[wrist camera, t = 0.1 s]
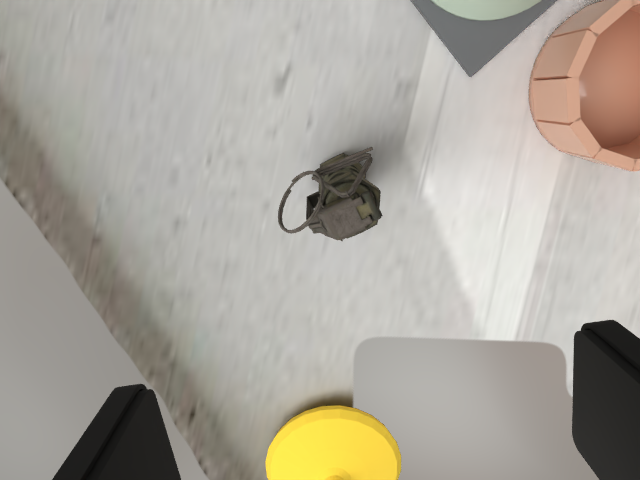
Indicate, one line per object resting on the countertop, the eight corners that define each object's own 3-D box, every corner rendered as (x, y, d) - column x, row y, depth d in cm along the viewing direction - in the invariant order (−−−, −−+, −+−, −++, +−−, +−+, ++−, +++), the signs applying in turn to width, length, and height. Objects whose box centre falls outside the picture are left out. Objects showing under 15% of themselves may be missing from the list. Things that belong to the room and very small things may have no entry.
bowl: (499, 78, 43) (532, 75, 37) (629, -36, 41) (690, -61, 34) (580, 186, 47) (625, 202, 40) (705, 88, 44) (776, 87, 37)
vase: (251, 479, 58) (243, 530, 51) (292, 376, 53) (288, 417, 46) (368, 511, 59) (375, 564, 53) (417, 414, 55) (432, 459, 48)
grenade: (356, 129, 45) (375, 146, 30) (381, 182, 46) (410, 222, 32) (275, 170, 46) (257, 205, 31) (302, 220, 47) (297, 275, 33)
